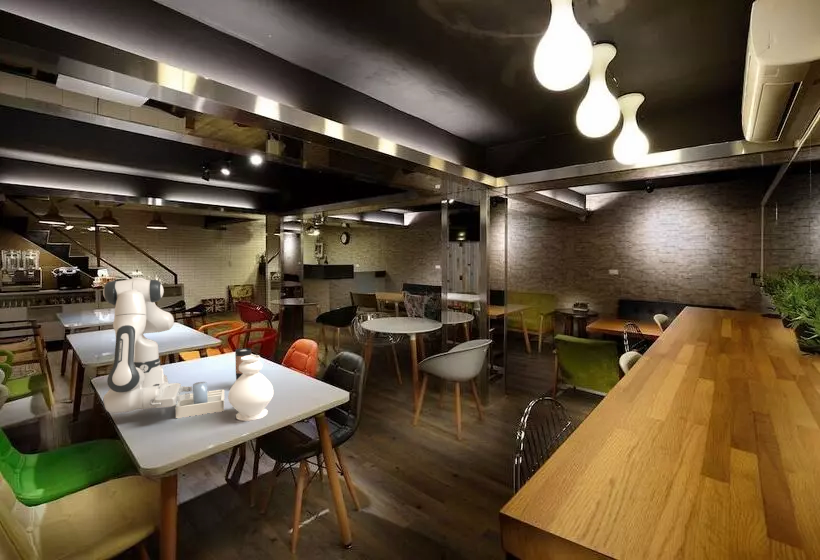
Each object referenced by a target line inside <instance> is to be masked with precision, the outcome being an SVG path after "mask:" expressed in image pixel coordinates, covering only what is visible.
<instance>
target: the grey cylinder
mask: <svg viewBox="0 0 820 560" xmlns="http://www.w3.org/2000/svg"><path fill="white" fill-rule="evenodd" d="M207 392H208V382H207V381H199V382H194V383H193V384H192V394H193V404H200V403H207V402H208V393H207Z"/></svg>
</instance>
